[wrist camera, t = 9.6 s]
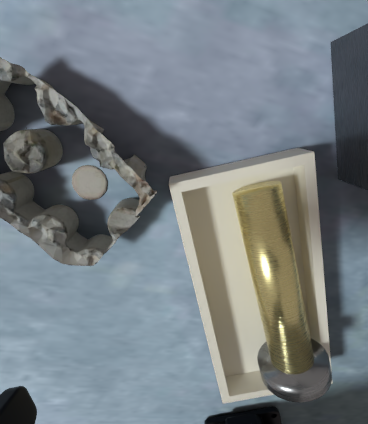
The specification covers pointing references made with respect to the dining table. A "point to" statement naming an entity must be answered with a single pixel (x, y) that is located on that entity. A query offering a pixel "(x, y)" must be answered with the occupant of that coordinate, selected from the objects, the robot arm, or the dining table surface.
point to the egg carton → (81, 180)
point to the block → (351, 105)
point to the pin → (279, 297)
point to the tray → (238, 264)
